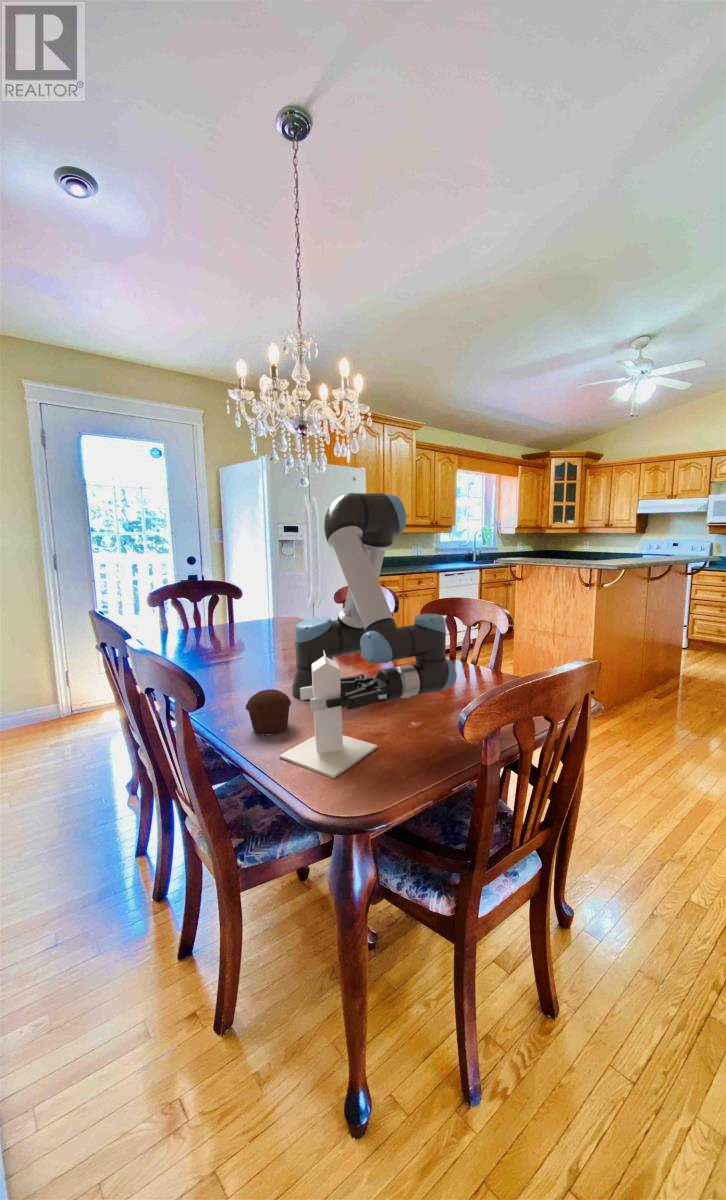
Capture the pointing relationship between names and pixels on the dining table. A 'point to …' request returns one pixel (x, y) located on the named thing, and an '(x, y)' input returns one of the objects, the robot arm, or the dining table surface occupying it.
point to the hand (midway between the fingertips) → (305, 699)
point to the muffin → (269, 711)
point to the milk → (328, 719)
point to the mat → (328, 756)
